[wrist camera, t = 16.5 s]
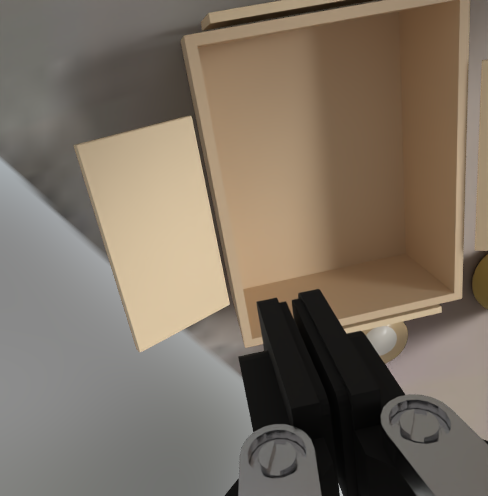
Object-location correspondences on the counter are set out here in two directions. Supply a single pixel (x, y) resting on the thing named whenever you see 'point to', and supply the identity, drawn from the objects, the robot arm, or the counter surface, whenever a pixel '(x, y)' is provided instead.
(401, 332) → the white-capped tan cylinder
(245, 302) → the carton
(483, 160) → the far flap
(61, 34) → the counter surface
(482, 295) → the paper tube
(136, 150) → the near flap
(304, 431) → the robot arm
